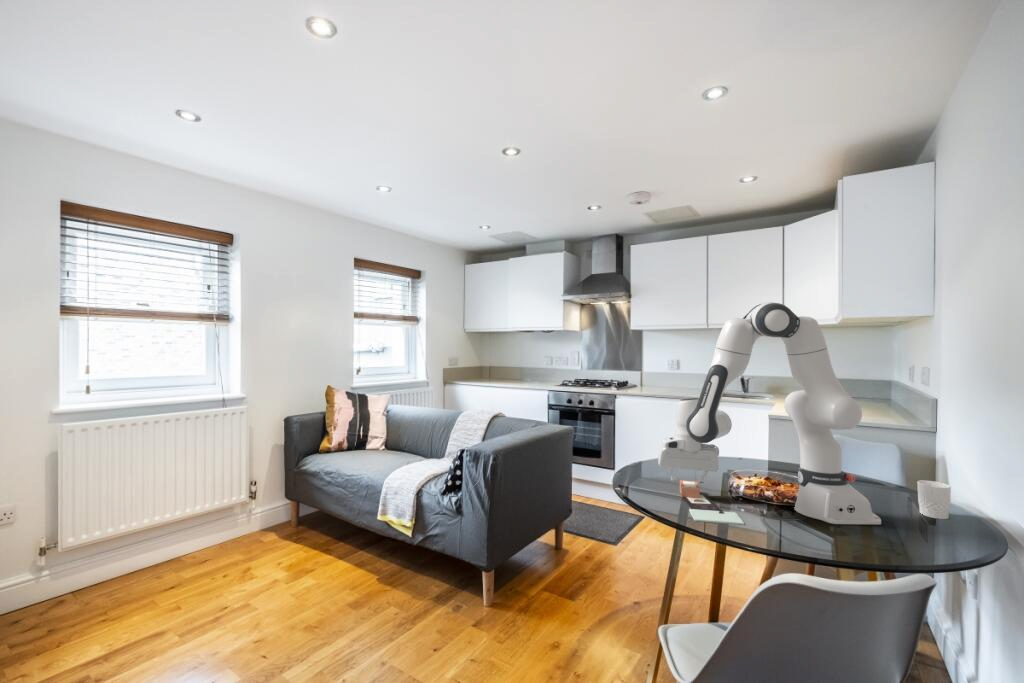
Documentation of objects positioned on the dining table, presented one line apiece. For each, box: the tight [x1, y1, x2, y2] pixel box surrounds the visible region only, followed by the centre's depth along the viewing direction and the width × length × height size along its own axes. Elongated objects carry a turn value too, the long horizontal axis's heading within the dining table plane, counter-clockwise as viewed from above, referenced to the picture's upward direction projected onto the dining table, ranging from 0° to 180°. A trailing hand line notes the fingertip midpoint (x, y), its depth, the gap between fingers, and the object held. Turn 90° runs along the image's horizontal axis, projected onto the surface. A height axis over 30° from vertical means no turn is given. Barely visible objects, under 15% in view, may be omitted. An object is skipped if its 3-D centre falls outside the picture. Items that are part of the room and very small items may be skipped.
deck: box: [679, 479, 701, 498], centre depth 163 cm, size 9×6×4 cm, turn 163°
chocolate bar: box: [679, 494, 725, 514], centre depth 153 cm, size 9×1×18 cm
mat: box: [688, 508, 745, 526], centre depth 142 cm, size 14×9×1 cm, turn 79°
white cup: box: [916, 479, 952, 520], centre depth 145 cm, size 8×8×10 cm
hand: (687, 481), depth 163 cm, fingers open, 8 cm apart
